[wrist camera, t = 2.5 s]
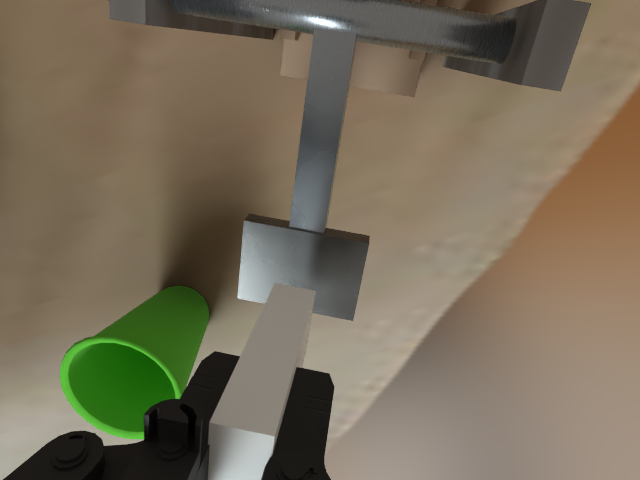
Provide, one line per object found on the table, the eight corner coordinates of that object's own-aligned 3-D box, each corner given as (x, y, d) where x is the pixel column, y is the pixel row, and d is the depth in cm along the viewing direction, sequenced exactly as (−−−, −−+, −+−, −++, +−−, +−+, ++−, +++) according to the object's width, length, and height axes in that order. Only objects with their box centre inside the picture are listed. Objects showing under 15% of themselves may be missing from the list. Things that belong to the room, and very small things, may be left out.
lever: (241, 204, 29) (158, 295, 18) (269, -170, 21) (156, -397, 11) (410, 235, 29) (428, 348, 18) (502, -139, 21) (636, -347, 10)
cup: (201, 251, 39) (138, 322, 28) (247, 335, 41) (204, 426, 31) (118, 281, 41) (33, 356, 31) (167, 359, 44) (104, 450, 34)
